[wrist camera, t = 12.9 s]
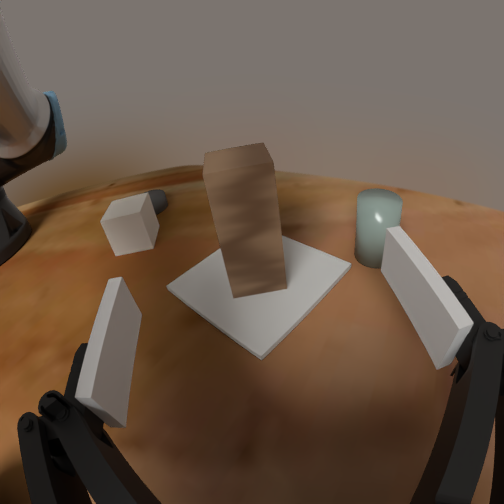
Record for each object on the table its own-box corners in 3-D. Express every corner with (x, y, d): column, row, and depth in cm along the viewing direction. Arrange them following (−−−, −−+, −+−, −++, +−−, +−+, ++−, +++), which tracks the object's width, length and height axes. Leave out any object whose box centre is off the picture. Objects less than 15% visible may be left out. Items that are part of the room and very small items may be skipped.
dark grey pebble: (130, 213, 43) (126, 202, 42) (157, 198, 46) (154, 187, 44) (145, 222, 40) (140, 210, 39) (174, 205, 43) (170, 193, 41)
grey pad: (167, 289, 28) (166, 286, 28) (255, 228, 34) (254, 224, 34) (261, 360, 21) (260, 356, 20) (350, 267, 27) (351, 263, 27)
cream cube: (116, 256, 34) (100, 221, 31) (125, 234, 38) (112, 201, 35) (153, 249, 34) (139, 211, 31) (159, 226, 38) (148, 192, 35)
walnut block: (233, 298, 25) (202, 174, 19) (230, 264, 29) (204, 153, 22) (287, 288, 25) (273, 161, 19) (277, 256, 29) (263, 142, 22)
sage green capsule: (346, 258, 28) (349, 201, 24) (365, 237, 30) (369, 184, 27) (384, 273, 26) (392, 215, 22) (400, 250, 28) (408, 196, 24)
